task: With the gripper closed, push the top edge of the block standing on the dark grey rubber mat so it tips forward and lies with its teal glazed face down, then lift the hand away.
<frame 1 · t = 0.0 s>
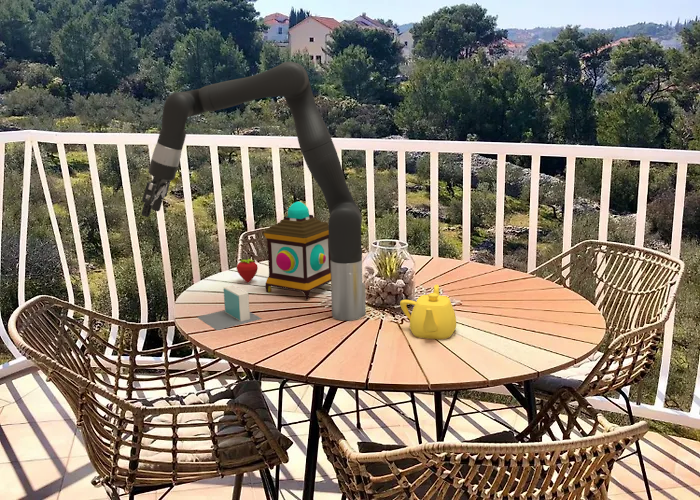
hand: (150, 213, 192), 31 cm above the table, tool tilted 20°, fingers open, 8 cm apart
teapot: (427, 331, 183), on the table
decorative lantern: (301, 290, 222), on the table
block: (237, 315, 197), resting on mat
strawberry: (248, 283, 231), on the table
mat: (229, 319, 195), on the table
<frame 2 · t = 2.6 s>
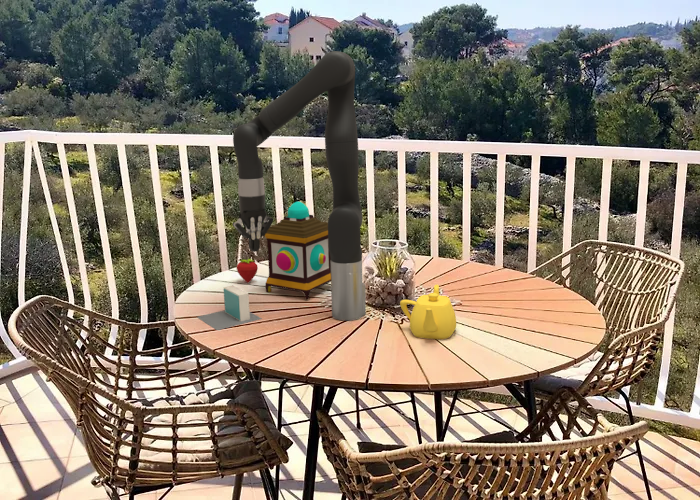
hand: (254, 250, 196), 19 cm above the table, tool pointing down, fingers closed
nothing on the table moved.
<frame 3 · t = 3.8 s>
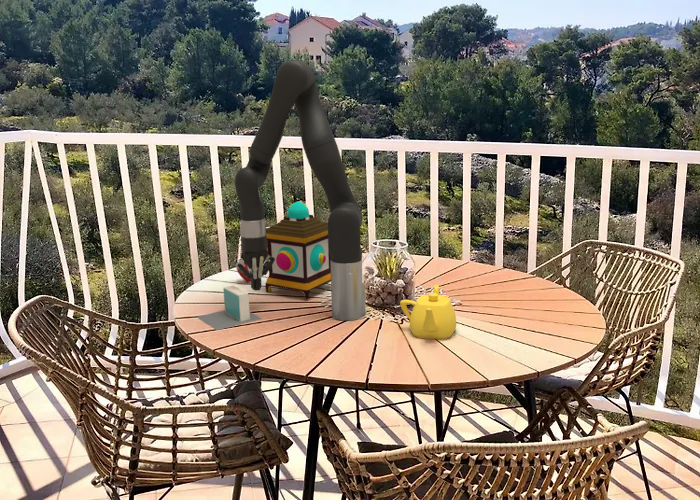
hand: (256, 289, 199), 7 cm above the table, tool pointing down, fingers closed
nothing on the table moved.
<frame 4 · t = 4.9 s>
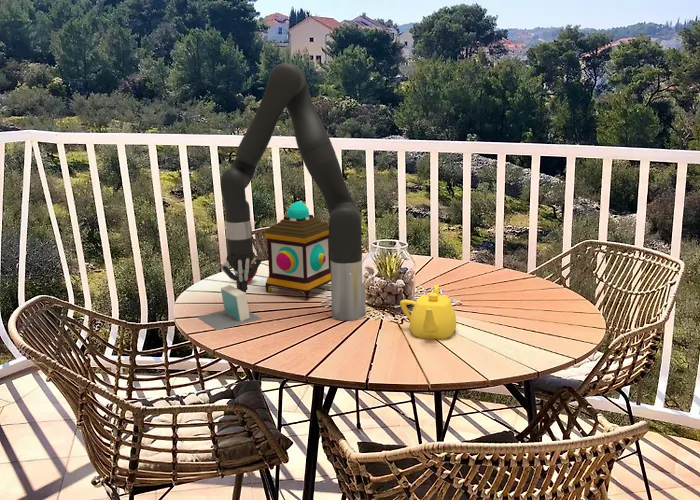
hand: (242, 292, 197), 7 cm above the table, tool pointing down, fingers closed
block: (237, 315, 197), point 1 cm above the table, tilted 6°, touching mat
everything else where it was.
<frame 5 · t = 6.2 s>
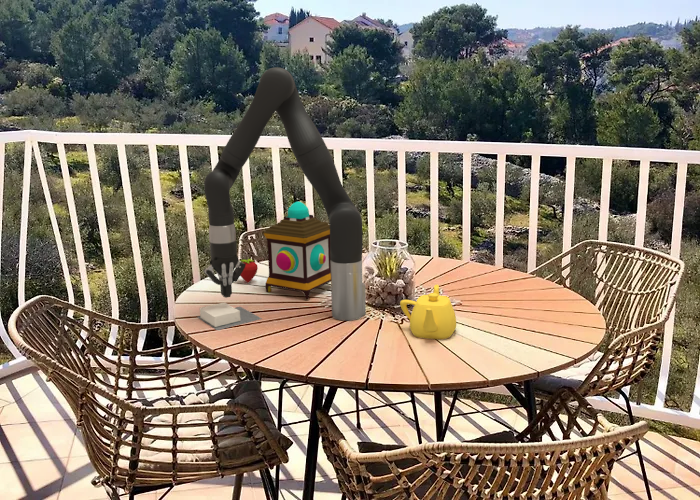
hand: (226, 296, 194), 7 cm above the table, tool pointing down, fingers closed
block: (232, 311, 196), point 2 cm above the table, tilted 90°, touching mat
everything else where it was.
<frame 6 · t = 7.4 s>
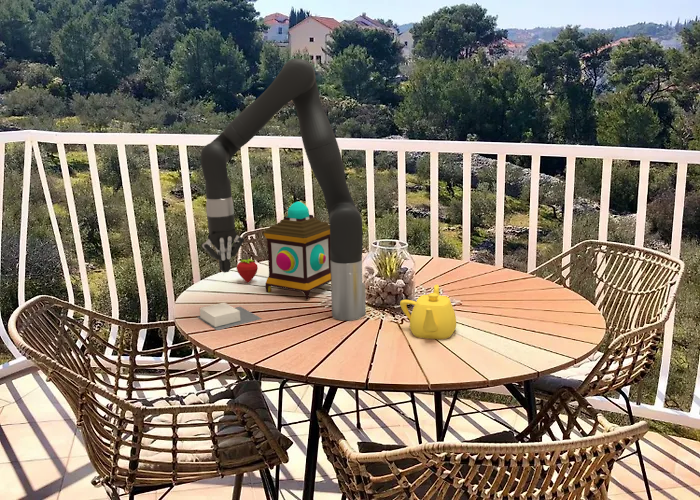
hand: (225, 271, 192), 15 cm above the table, tool pointing down, fingers closed
nothing on the table moved.
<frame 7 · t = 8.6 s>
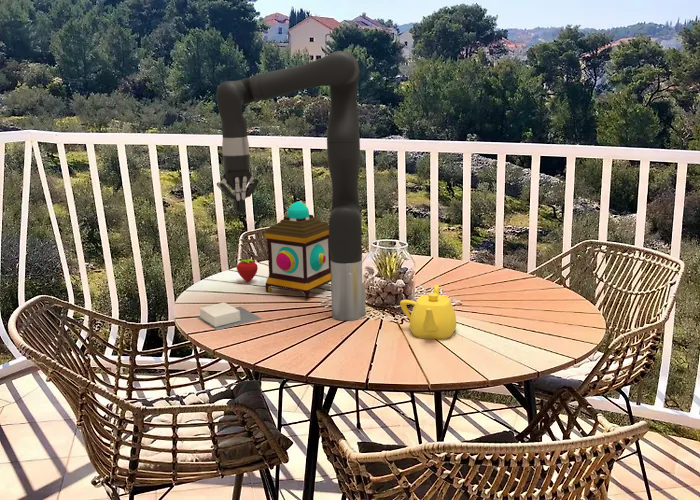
hand: (240, 212, 193), 31 cm above the table, tool pointing down, fingers closed
nothing on the table moved.
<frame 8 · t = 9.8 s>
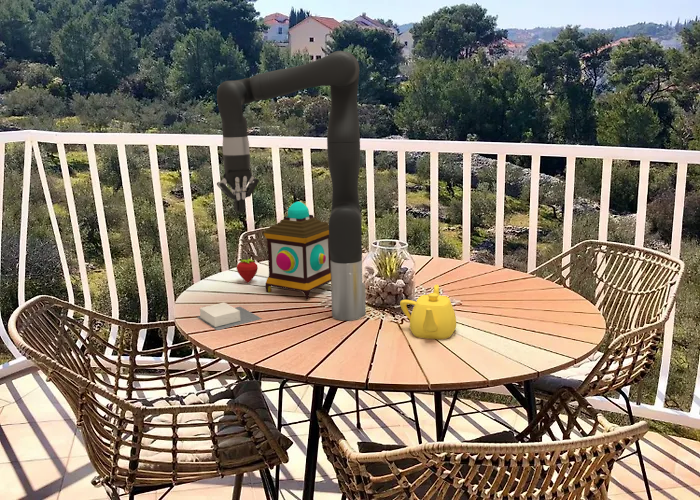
hand: (240, 212, 193), 31 cm above the table, tool pointing down, fingers closed
nothing on the table moved.
at the end: block tilted 90°; block touching mat; block inside the target area (0.4 cm from its centre), point 2.1 cm above the table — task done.
